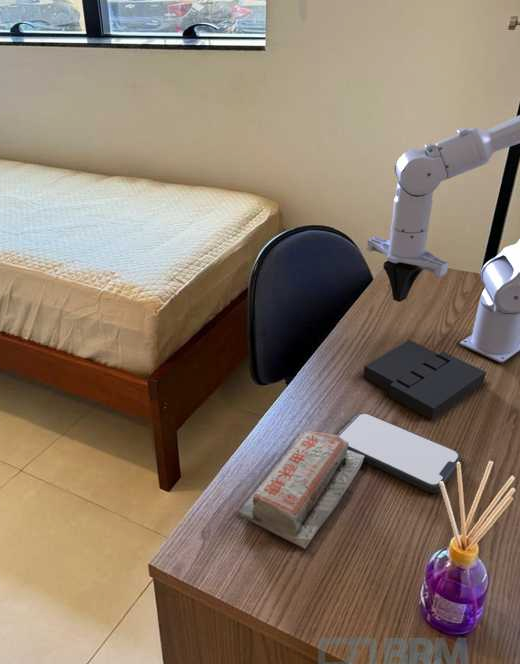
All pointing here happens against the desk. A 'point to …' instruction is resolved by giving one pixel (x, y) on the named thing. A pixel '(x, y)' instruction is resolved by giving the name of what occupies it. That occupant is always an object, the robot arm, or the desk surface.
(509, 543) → the desk surface
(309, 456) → the packaged product
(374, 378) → the loose pad
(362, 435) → the smartphone
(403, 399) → the pad
